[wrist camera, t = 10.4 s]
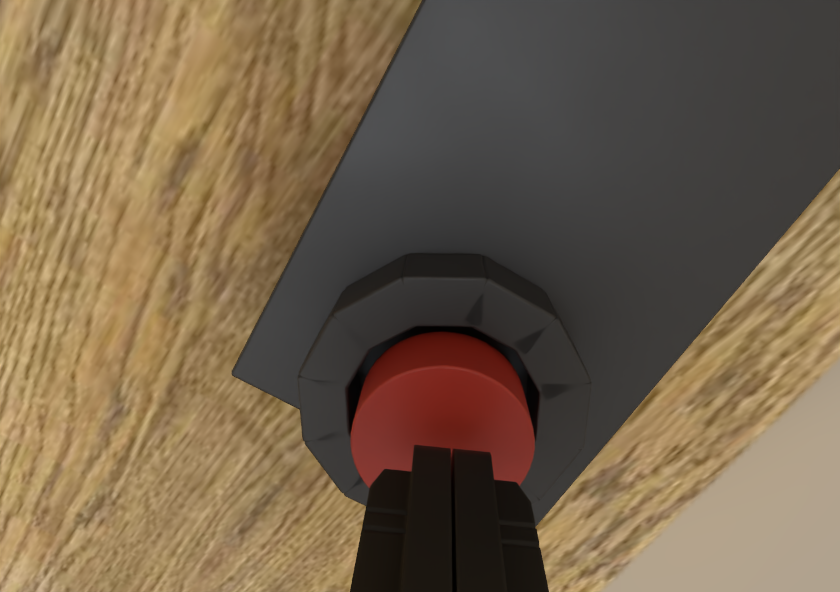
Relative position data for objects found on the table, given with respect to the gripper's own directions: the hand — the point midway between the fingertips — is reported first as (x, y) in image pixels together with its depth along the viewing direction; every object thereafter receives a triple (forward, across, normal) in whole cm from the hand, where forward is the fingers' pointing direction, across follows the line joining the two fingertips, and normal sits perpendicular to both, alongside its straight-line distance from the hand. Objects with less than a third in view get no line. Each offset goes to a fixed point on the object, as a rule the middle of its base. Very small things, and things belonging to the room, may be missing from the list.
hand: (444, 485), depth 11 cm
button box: (+6, -2, -4) cm, 8 cm away
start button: (+3, 0, 0) cm, 3 cm away
